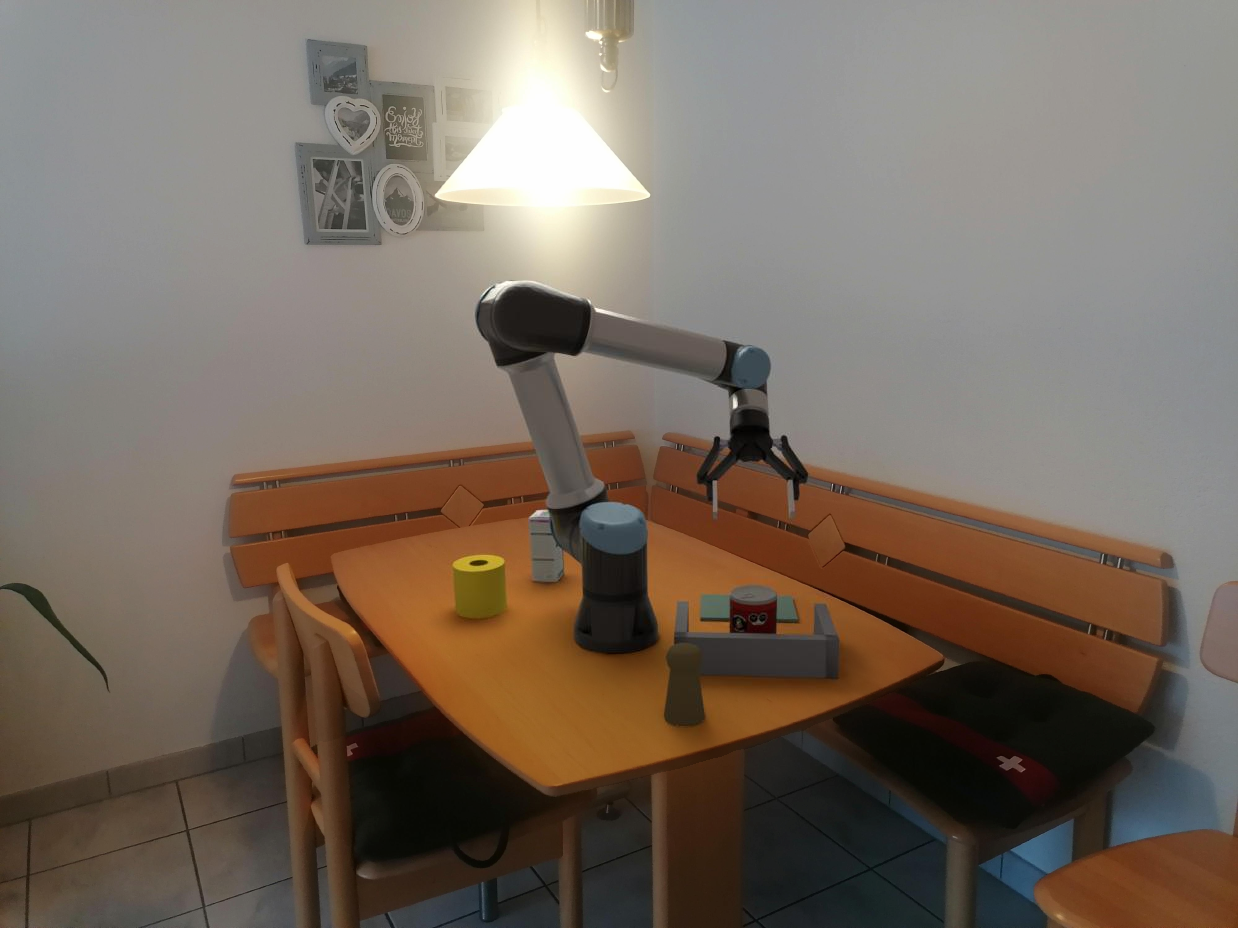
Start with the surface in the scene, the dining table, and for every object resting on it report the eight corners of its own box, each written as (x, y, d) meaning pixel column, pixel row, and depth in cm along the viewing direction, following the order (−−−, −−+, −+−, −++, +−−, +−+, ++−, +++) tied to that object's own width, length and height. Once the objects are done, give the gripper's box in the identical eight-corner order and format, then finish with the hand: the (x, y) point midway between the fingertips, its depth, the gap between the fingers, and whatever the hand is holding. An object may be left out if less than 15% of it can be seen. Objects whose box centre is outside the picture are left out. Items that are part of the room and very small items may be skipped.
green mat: (700, 620, 159) (700, 617, 159) (700, 596, 171) (700, 594, 171) (797, 622, 158) (797, 619, 157) (791, 598, 169) (791, 595, 169)
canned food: (720, 654, 145) (720, 593, 142) (748, 640, 150) (749, 581, 148) (756, 668, 139) (757, 605, 137) (785, 652, 145) (786, 591, 143)
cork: (681, 731, 120) (681, 659, 118) (655, 714, 125) (654, 645, 123) (713, 718, 124) (713, 647, 122) (686, 702, 129) (686, 634, 126)
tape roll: (498, 595, 174) (496, 552, 172) (513, 612, 165) (510, 566, 163) (450, 604, 170) (447, 559, 168) (462, 621, 161) (459, 574, 159)
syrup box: (557, 582, 181) (555, 517, 178) (531, 581, 182) (528, 516, 179) (564, 573, 186) (562, 509, 183) (538, 572, 188) (535, 509, 184)
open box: (674, 674, 138) (674, 636, 137) (677, 635, 153) (677, 601, 152) (838, 678, 135) (839, 640, 134) (825, 638, 150) (826, 603, 149)
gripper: (813, 428, 166) (822, 524, 154) (684, 430, 168) (684, 525, 157) (817, 405, 159) (826, 504, 148) (683, 408, 162) (683, 505, 151)
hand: (753, 515), depth 152 cm, fingers open, 13 cm apart
